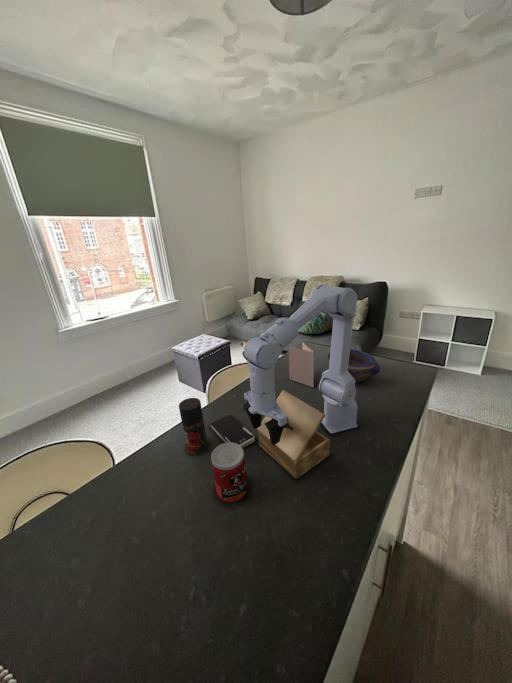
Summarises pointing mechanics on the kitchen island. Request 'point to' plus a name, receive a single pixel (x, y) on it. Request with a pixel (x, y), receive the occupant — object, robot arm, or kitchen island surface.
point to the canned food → (229, 471)
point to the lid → (295, 424)
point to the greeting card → (301, 365)
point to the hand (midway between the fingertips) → (266, 434)
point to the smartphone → (232, 431)
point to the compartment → (307, 460)
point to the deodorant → (193, 425)
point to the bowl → (361, 365)
